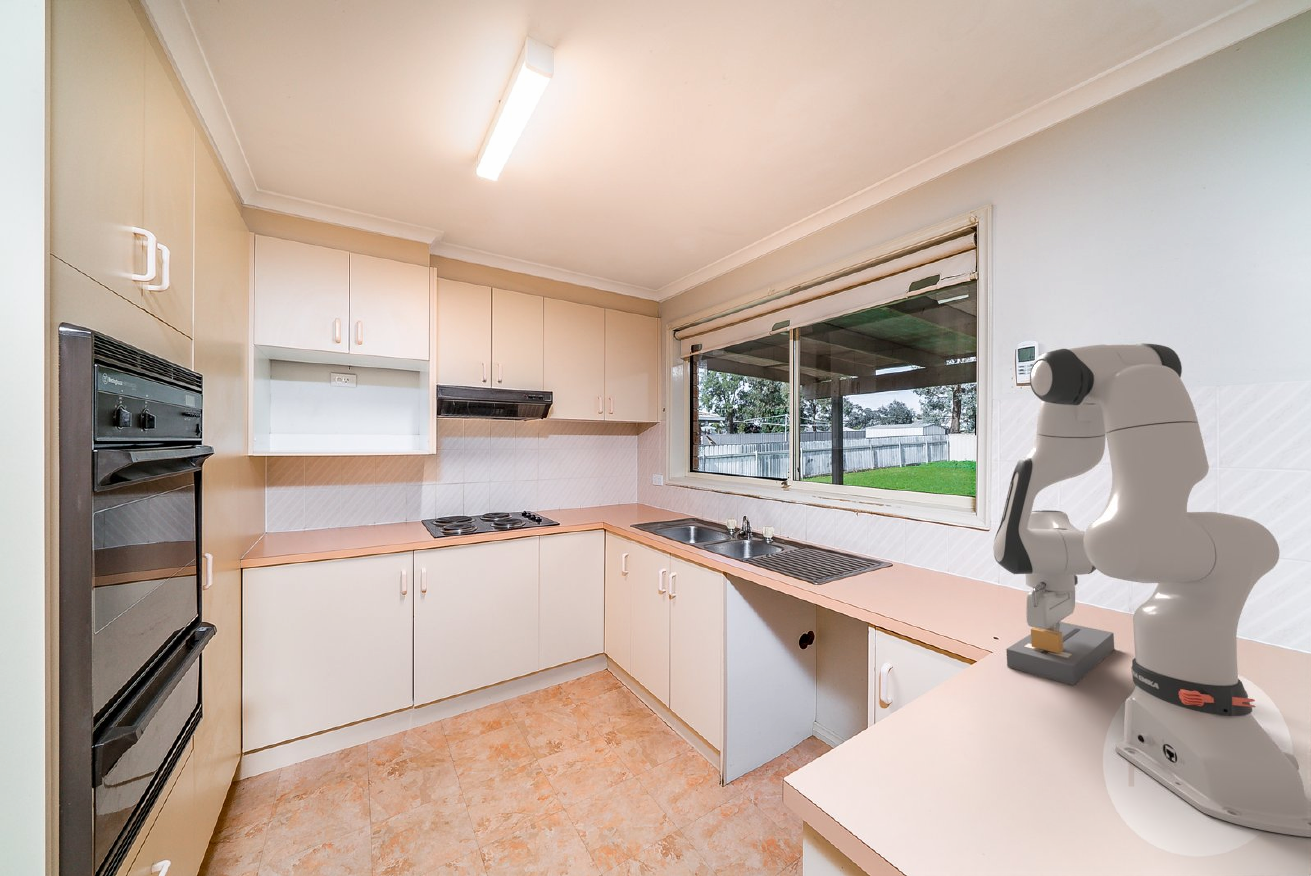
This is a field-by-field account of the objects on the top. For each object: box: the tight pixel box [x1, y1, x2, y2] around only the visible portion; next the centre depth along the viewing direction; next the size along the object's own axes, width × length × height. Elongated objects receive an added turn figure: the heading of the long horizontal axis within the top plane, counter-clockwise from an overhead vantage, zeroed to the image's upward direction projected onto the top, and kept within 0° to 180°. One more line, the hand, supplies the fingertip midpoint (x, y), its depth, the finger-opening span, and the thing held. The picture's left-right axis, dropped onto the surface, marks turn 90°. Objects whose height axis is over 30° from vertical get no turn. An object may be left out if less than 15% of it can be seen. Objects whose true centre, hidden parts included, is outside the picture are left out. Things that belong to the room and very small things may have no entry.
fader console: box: [1005, 621, 1115, 687], centre depth 116 cm, size 32×12×4 cm, turn 125°
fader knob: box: [1030, 627, 1063, 653], centre depth 110 cm, size 3×5×4 cm, turn 35°
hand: (1052, 639), depth 112 cm, fingers closed
